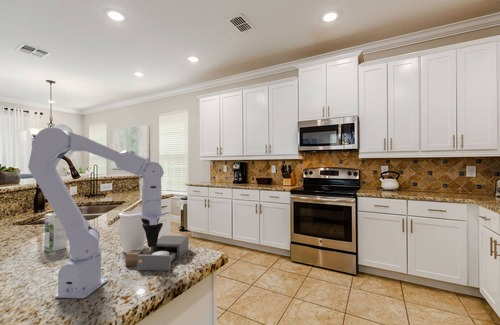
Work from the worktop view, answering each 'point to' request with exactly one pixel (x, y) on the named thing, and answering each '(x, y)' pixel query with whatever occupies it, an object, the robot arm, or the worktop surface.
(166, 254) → the white dome cap
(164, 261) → the grey drawer
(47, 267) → the worktop surface
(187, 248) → the block
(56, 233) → the syrup box
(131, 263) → the walnut block
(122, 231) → the jar
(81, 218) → the robot arm
